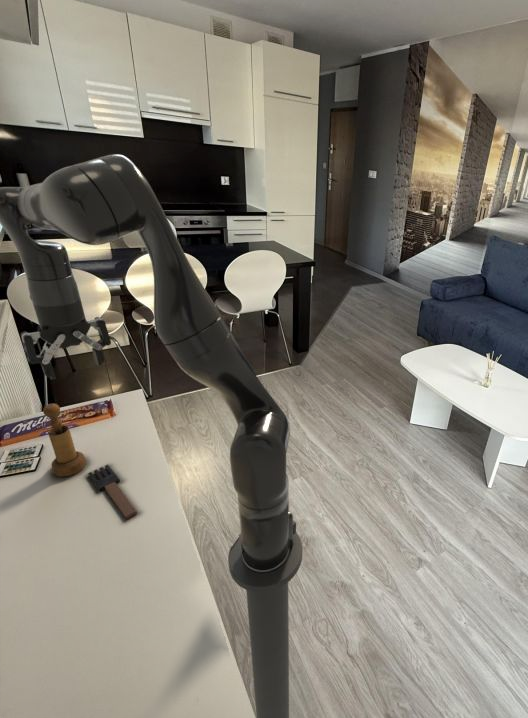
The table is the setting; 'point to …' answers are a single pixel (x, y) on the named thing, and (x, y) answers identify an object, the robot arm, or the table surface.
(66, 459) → the mortar and pestle
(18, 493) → the table surface
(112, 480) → the brush with brown handle
